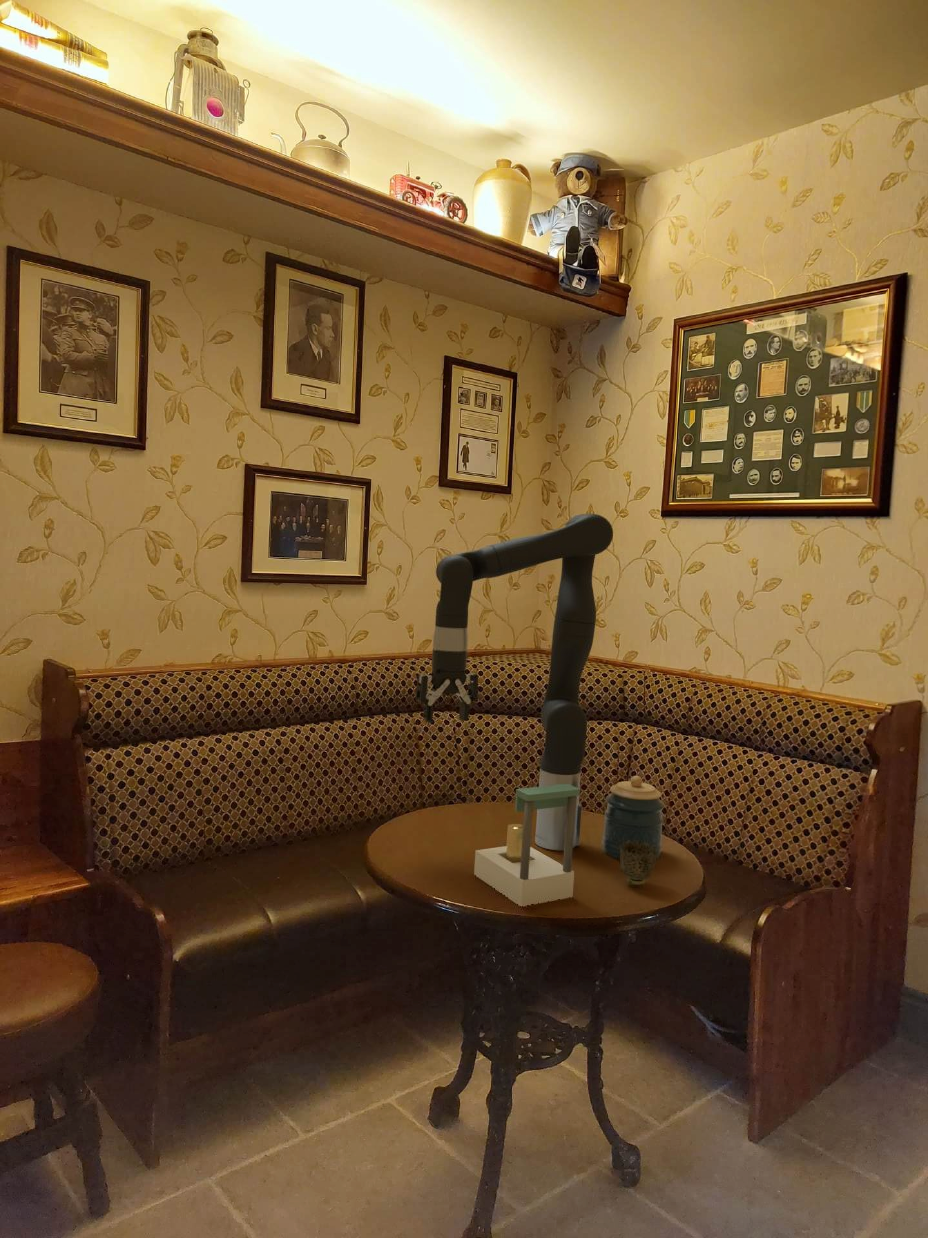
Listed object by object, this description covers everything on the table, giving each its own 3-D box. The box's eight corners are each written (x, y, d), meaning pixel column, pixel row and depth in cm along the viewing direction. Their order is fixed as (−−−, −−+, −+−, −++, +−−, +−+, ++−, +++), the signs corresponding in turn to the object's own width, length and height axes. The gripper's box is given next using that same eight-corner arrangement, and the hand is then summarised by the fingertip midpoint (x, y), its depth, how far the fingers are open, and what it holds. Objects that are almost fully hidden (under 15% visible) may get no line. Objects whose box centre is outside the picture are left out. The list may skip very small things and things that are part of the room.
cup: (628, 875, 175) (631, 837, 175) (660, 885, 171) (663, 847, 170) (610, 884, 170) (613, 846, 169) (643, 895, 165) (646, 855, 164)
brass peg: (517, 871, 171) (520, 823, 171) (528, 878, 168) (531, 829, 167) (500, 874, 169) (503, 825, 169) (511, 880, 166) (514, 831, 165)
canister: (666, 865, 183) (673, 785, 181) (607, 862, 183) (613, 782, 181) (653, 844, 196) (658, 770, 194) (597, 841, 196) (602, 767, 194)
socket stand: (523, 866, 177) (529, 767, 175) (572, 897, 162) (580, 789, 161) (474, 874, 171) (480, 772, 169) (520, 907, 156) (528, 795, 154)
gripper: (469, 645, 189) (465, 716, 191) (413, 645, 182) (409, 719, 183) (487, 649, 183) (482, 723, 184) (429, 650, 176) (424, 726, 177)
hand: (445, 721), depth 184 cm, fingers open, 8 cm apart
